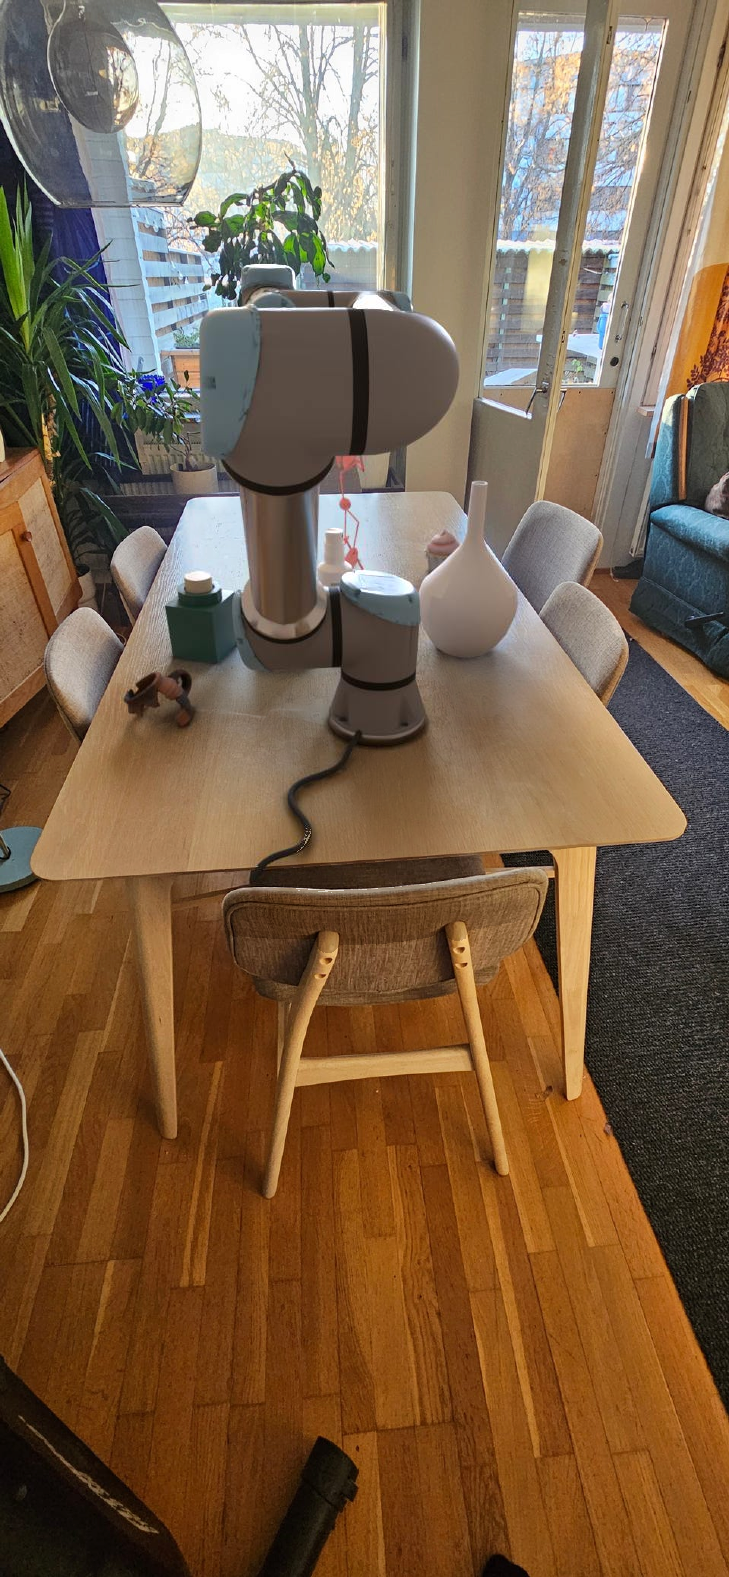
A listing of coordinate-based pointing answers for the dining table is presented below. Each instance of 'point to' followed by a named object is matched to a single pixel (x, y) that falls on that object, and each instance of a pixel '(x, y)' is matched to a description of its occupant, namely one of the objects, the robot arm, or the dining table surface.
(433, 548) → the cupcake
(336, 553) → the white bottle
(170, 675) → the brown jagged looped figure
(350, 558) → the figurine
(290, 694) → the dining table surface
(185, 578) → the beige cylinder
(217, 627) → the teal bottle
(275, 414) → the robot arm
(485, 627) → the vase
